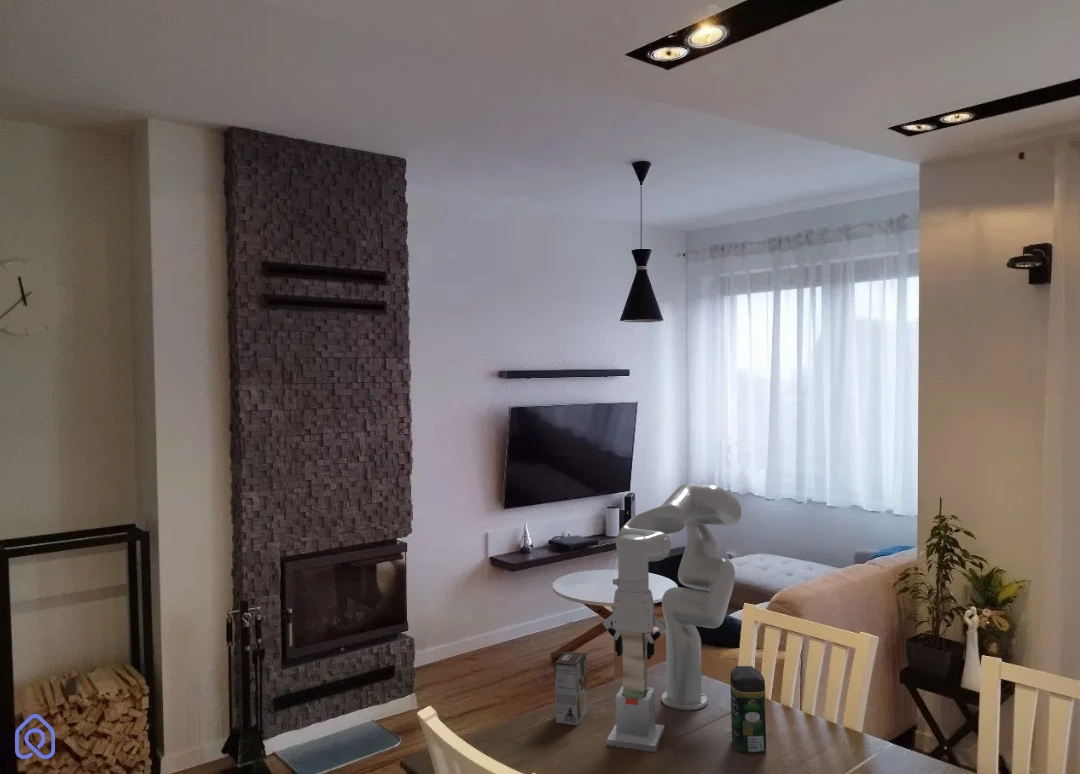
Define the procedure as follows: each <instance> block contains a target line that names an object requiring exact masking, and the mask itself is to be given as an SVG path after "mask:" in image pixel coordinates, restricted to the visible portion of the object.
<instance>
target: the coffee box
mask: <svg viewBox="0 0 1080 774" xmlns="http://www.w3.org/2000/svg"><path fill="white" fill-rule="evenodd" d="M587 670H588V669H587V653H584V652H583V653H582V652H571V651H564V652H563V653H562V654H561V656H559V658H557V660H555V662H554V686H555V687H554V689H555V692H554V693H555V695H554V696H555V722H556V723H557V724H564V723H565V724H564V725H571V724H572V725H573V726H579V724H581V722H582V720H583V719H584V717H585V716H586V714H587V713H588V681H587V679H588V676H587V674H588V673H587ZM572 725H571V726H572Z"/></svg>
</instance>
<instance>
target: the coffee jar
mask: <svg viewBox="0 0 1080 774" xmlns="http://www.w3.org/2000/svg"><path fill="white" fill-rule="evenodd" d="M729 680H730V682H729V683H730V717H731V718H730V719H731V724H730V725H731V741H732V744H733V745H734V747H735V749H736V750H737V751H739V752H741V753H746V754H753V755H755V754H761V753H763V752H765V751H766V750H767V727H766V725H767V724H766V723H767V722H766V721H767V720H766V683H765V682H766V680H765V677H764V675H763V674H762V673H761V672H760V671H759V670H758V669H757V668H755V667H753V666H752V665H737V666H735V667H734V668H733V669H732V670H731V671H730V679H729Z"/></svg>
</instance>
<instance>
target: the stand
mask: <svg viewBox="0 0 1080 774" xmlns="http://www.w3.org/2000/svg"><path fill="white" fill-rule="evenodd" d="M610 731H611V732H610V733H609V735H608V736H607V738H606V746H607V745H609V746H610V747H614V746H616V747H615V748H621V747H623V748H622V749H628V748H630V749H631V750H636V749H637V751H643V752H651V753H657V750H658V747H659V745H660V743H661V740H662V738H663V735H664V734H665V725H664V724H656V690H655V687H649V686H647V694H646V696H645V698H639V697H631V696H623V685H622V686H621V687H620V688H619V691H618V692H617V694H616V695H615V724H614V726H613V728H612V730H610ZM630 749H629V750H630Z"/></svg>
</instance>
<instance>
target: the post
mask: <svg viewBox="0 0 1080 774" xmlns="http://www.w3.org/2000/svg"><path fill="white" fill-rule="evenodd" d="M621 637H622V645H623V653H622V686H623V696H631V697H639V698H645V696H646V694H647V687H648V663H647V662H648V661H647V660H648V659H647V637H646V635H645V634H642V633H631V632H622V633H621Z"/></svg>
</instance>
